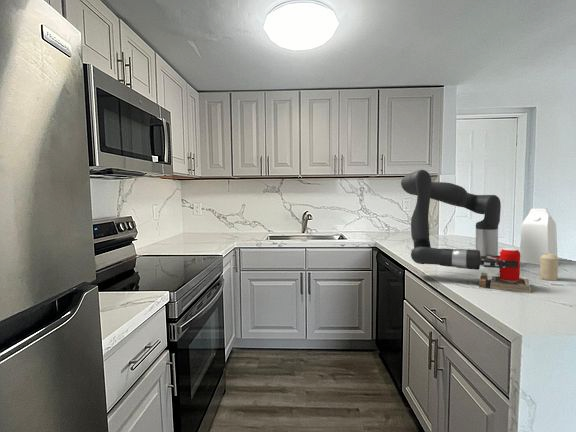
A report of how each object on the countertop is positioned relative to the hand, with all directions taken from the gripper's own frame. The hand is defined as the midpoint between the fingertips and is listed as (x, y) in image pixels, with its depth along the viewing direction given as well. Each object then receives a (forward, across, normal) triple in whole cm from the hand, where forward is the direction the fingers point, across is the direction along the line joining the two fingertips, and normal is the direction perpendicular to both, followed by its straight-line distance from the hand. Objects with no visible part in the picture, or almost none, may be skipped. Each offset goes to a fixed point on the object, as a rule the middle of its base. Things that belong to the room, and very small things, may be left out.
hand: (517, 262), depth 124 cm
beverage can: (-2, 0, +7) cm, 8 cm away
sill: (-11, +1, +9) cm, 14 cm away
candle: (+11, +19, +9) cm, 24 cm away
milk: (+10, +55, +9) cm, 57 cm away
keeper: (-2, 0, +9) cm, 9 cm away
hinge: (-51, +72, +10) cm, 89 cm away
